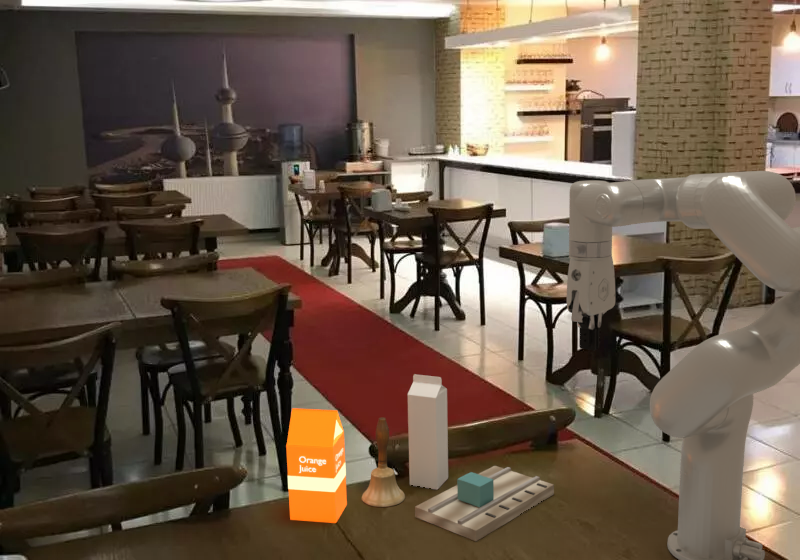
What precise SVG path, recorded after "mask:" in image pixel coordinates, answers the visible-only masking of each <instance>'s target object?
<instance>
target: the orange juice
mask: <svg viewBox="0 0 800 560" xmlns="http://www.w3.org/2000/svg"><path fill="white" fill-rule="evenodd" d="M288 427H289V428H288V432H287V434H288V435H287V440H286V441H287V442H286V445H285V448H286V463H287V464H286V465H287V466H286V467H287V489H288V500H289V502H288V503H289V505H288V506H289V518H290V519H289V520H290V521H304V522H315V523H331V524H336V523H337V522H338V521H339V519H340V517H341V516H342V514H343V512H344V510H345V508H346V507H347V505H348V501H347V469H346V468H347V466H346V464H347V463H346V452H345V451H346V449H345V445H346V444H345V431H344V428H343V424H342V421H341V418H340V414H339V412H338V410H336V409H335V410H334V409H316V408H315V409H314V408H298V407H297V408H296V407H294V408H291V412H290V420H289V426H288Z"/></svg>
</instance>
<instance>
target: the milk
mask: <svg viewBox="0 0 800 560" xmlns="http://www.w3.org/2000/svg"><path fill="white" fill-rule="evenodd" d="M442 382H443V381H442V377H441V376H431V375H423V374H416V373H414V374H413V376H412V384H411V386H410V388H409V390H408V392H407V424H408V425H407V426H408V427H407V428H408V430H407V431H408V433H407V434H408V464H409V465H408V469H409V470H408V471H409V474H408V476H409V486H411V485H413V486H412V487H417V486H420V487H419V488H423V487H425V489H429V488H431V489H430V490H434V491H437V490H438V489H440V488H441V487H442V485H443V484H444V483H445V482H446V481H447V480H448V479H449V449H448V447H449V445H448V444H449V443H448V442H449V441H448V439H449V437H448V436H449V435H448V427H449V426H448V389H447V388H446V387H445V386H444V385H443V384H442ZM438 491H439V490H438Z"/></svg>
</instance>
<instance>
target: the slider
mask: <svg viewBox="0 0 800 560" xmlns="http://www.w3.org/2000/svg"><path fill="white" fill-rule="evenodd" d="M456 482H457V484H456V485H457V489H458V500H461V501H464V502H466V503H469V504H472V505H475V506H477V507H482V506H484V505H486V504H487V503H489V502H491V501H493V500H494V484H493V479H491V478H488V477H485V476H482V475H479V473H476V472H472V471H470V472H469V473H466V474H464V475H462V476H460V477H458V478H457V479H456Z"/></svg>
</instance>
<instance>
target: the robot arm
mask: <svg viewBox="0 0 800 560" xmlns="http://www.w3.org/2000/svg"><path fill="white" fill-rule="evenodd" d="M796 196H797V195H796V191H795V188H794V187H793V184H792V182H790V181H789V179H788V178H786V177H785V176H783V175H782V174H780V173H777V172H774V171H768V170H751V171H749V170H748V171H733V172H732V171H731V172H717V173H715V172H713V173H695V174H690V175H688V176H686V177H670V178H669V177H668V178H647V179H637V180H635V179H634V180H624V181H615V182H609V181H606V180H595V179H594V180H589V179H588V180H579V181H578V180H577V181H575V182H573V183H572V184H571V185H570V188H569V218H568V219H569V221H568V223H569V224H568V226H569V230H568V232H569V234H568V235H569V237H568V240H569V241H568V258H569V265H568V271H567V279H566V280H567V281H566V283H567V284H566V309H567V311H568V312H569V313H571V319H570V321H571V322H573V323H574V322H577V327H578V328H579V345H578V346H579V349H581V350H589V351H596V350H599V349H600V328H601V326H602V317H603V316H604V314H605V313H607V311H609V310H611V309H613V308H614V306H615V305H616V277H615V266H614V260H613V228H618V227H625V226H626V227H627V226H631V225H637V224H646V223H660V222H662V223H663V222H681V223H682V224H684V225H685V226H686V227H688V228H690V229H694V230H695V229H696V230H698V229H699V230H700V229H701V230H702V229H704V230H706V229H707V230H708V229H709V230H710V231H712V233H713V234H714V235H715V236H716V237H717V239H719V241H720V242H721V243H722V244H723V245H724V246H725V247H726V248H727V249H728V250H729V251H731V253H732V254H733V255H734V256H735V257H736V258H737V259H738V260H739V262H740V263H742V264H743V266H745V267H746V269H748V271H750V273H751V274H753V275H754V277H755V278H756V279H758V281H760V282H761V283H763V284H764V285H765V286H767V287H769V288H771V289H773V290H775V291H777V292H783V293H786V294H785V295H784V296H782V297H781V298H779V299H778V300H777V301H776V302H774V303H773V304H772V305H771V306H770V307H769V309H767V310H766V311H765V312H764V313H763V314H762V315H761V316H759V317H758V318H756V320H755V321H753V322H752V323H749V324H748V325H747V326H744V327H741V328H738V329H735V330H731V331H728V332H725V333H721V334H717V335H714V336H712V337H710V338H708V339H705V340H704V341H702V342H700V343H699V344H698V345H696V346H694V348H693V349H691V350H690V352H688V353H687V354H686V355H685V356H684V357H683V358H682V359H681V360H680V361H679V362H678V363H677V364H675V366H673V368H672V369H671V370H669V371H668V372H667V373H666V374H665V375H664V376H662V377H661V379H660V380H659V381H658V382H657V383H656V385H655V386H654V388H653V390H652V392H651V395H650V398H649V412H650V416H651V419H652V421H653V423H654V424H655V426H656V427H657V428H658V429H659V430H660V431H661V432H662V433H664V434H667V436H670V437H674V438H678V439H682V442H681V448H680V449H681V450H680V463H679V465H680V467H679V469H680V471H679V489H678V491H679V492H678V513H677V515H678V518H677V519H678V520H677V530H675V531H672V532H671V533H670V534H669V535H668V537H667V549H668V551H669V553H670V554H671V555H672V557H675V558H676V559H678V560H765V555H766V552H765V550H764V549H763V543H760V542H756V541H753V540H750V539H748V537H746V533H747V531H746V530H747V528H745V527H740V526H741V513H742V511H741V509H742V495H743V480H744V479H743V477H744V465H745V464H744V462H745V450H746V440H747V433H748V429H749V425H750V421H751V417H752V413H753V407H754V394H757V393H759V392H762V391H765V390H767V389H770V388H772V387H774V386H775V385H777V384H779V383H780V382H781V381H783V380H784V378H785V377H787V375H788V374H790V373H791V372H792V371H793V370H794V369H796V367H798V366H799V365H800V226H798V227H793V228H792V227H791V226H790V225H789V223H787V222H786V220H787V219H788V218H789V217H790V215H791V214H792V213H793V211H794V208H795V205H796V202H797V201H796V200H797V199H796Z"/></svg>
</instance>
